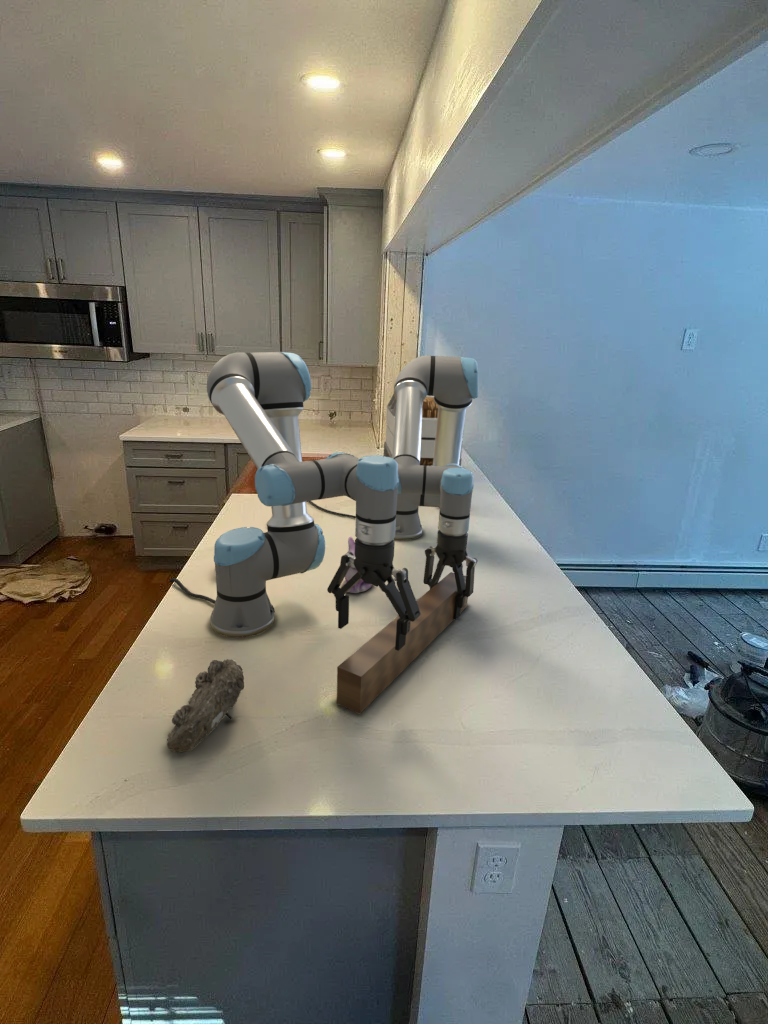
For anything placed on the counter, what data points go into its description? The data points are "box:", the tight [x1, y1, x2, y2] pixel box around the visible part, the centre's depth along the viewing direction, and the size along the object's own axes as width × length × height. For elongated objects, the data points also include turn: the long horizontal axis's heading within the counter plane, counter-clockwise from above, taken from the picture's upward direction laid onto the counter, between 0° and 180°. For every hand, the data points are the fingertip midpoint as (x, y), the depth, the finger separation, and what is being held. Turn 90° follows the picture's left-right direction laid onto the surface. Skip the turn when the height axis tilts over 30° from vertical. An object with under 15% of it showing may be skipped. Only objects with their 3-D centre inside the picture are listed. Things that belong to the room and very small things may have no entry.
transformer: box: [383, 393, 465, 467], centre depth 268 cm, size 34×33×41 cm
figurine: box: [343, 536, 373, 594], centre depth 158 cm, size 9×10×15 cm
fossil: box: [166, 658, 245, 754], centre depth 106 cm, size 22×10×15 cm
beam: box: [336, 571, 469, 715], centre depth 132 cm, size 52×6×9 cm, turn 149°
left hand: (370, 636), depth 114 cm, fingers open, 13 cm apart
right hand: (445, 613), depth 148 cm, fingers closed on beam, 6 cm apart
